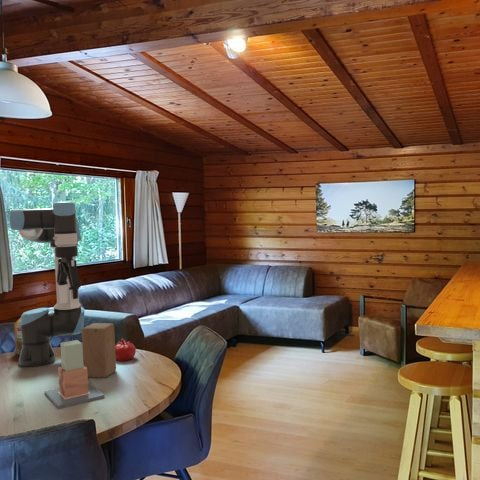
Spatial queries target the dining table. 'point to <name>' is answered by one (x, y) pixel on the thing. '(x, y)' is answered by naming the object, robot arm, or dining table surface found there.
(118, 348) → the pomegranate
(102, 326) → the wooden block
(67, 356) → the sage block
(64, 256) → the robot arm
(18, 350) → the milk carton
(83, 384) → the terracotta block
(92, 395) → the board
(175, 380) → the dining table surface
